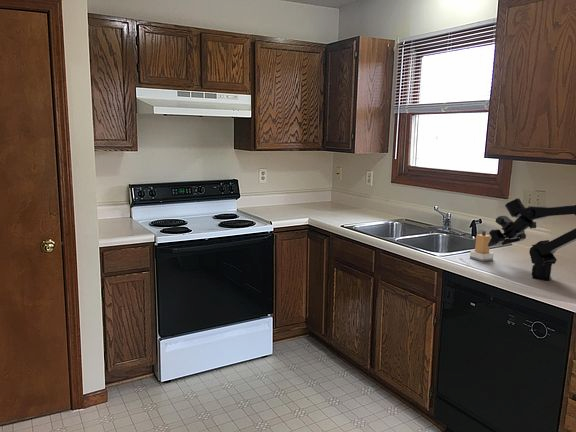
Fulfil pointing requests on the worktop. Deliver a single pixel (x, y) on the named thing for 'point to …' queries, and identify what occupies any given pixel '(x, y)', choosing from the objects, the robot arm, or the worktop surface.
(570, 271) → the worktop surface
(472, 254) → the socket
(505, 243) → the robot arm
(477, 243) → the plug
